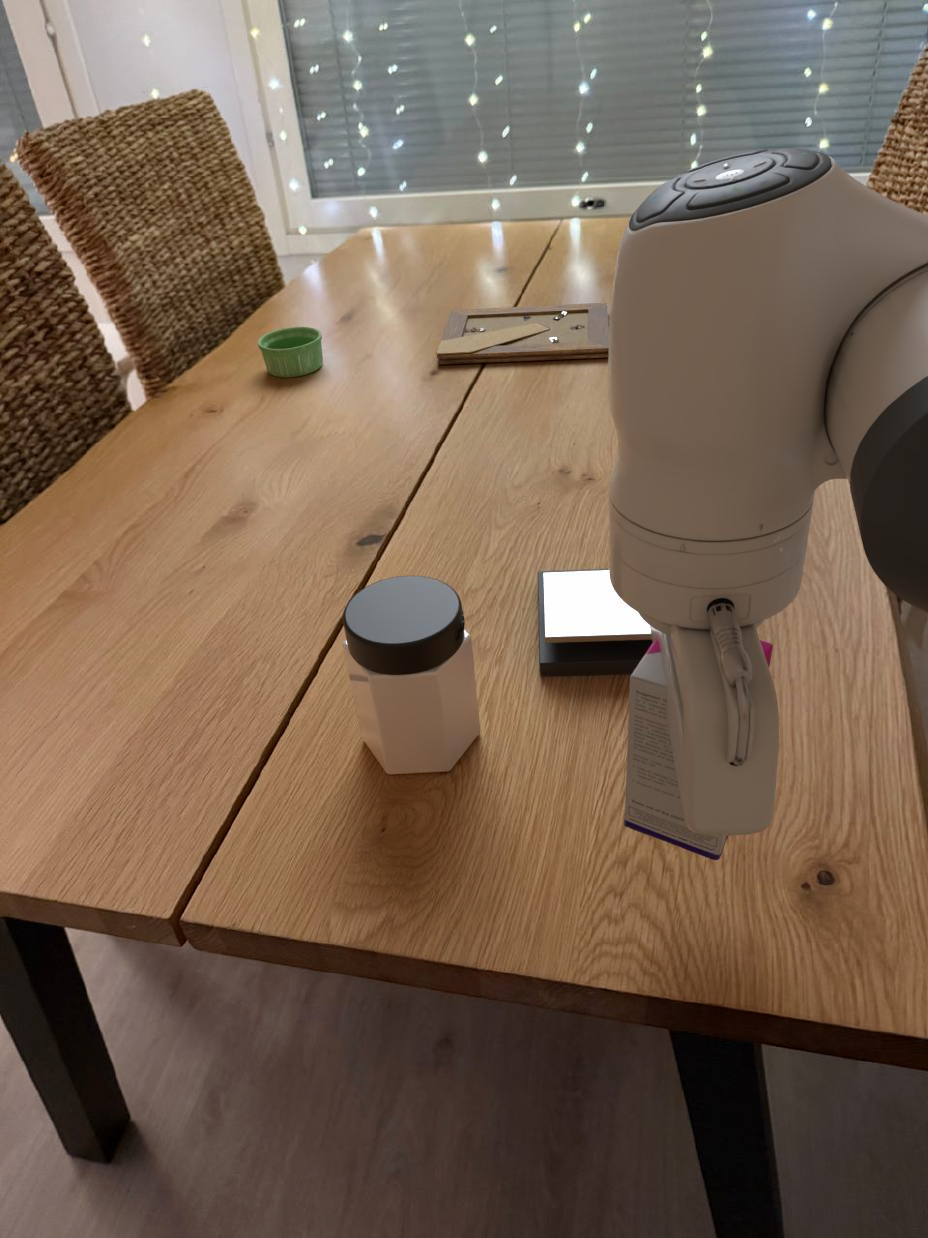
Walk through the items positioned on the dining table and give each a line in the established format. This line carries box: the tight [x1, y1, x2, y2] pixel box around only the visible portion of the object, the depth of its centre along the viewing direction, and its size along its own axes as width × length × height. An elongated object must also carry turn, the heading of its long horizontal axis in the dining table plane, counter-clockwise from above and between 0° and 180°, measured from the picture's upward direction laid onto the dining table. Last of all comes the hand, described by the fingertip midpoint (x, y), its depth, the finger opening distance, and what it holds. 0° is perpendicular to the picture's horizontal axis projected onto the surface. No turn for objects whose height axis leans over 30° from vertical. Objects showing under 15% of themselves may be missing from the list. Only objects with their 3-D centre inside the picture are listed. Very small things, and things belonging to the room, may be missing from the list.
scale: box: [537, 568, 653, 677], centre depth 77 cm, size 17×13×3 cm
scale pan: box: [543, 570, 652, 643], centre depth 75 cm, size 10×9×1 cm
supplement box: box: [623, 637, 774, 861], centre depth 50 cm, size 6×6×12 cm
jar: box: [342, 575, 481, 775], centre depth 66 cm, size 9×8×12 cm
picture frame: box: [436, 302, 610, 365], centre depth 133 cm, size 19×2×24 cm
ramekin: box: [257, 326, 324, 378], centre depth 131 cm, size 9×9×4 cm
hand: (690, 756), depth 51 cm, fingers closed on supplement box, 7 cm apart
